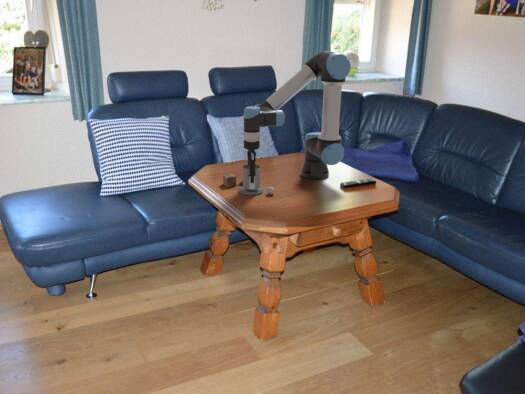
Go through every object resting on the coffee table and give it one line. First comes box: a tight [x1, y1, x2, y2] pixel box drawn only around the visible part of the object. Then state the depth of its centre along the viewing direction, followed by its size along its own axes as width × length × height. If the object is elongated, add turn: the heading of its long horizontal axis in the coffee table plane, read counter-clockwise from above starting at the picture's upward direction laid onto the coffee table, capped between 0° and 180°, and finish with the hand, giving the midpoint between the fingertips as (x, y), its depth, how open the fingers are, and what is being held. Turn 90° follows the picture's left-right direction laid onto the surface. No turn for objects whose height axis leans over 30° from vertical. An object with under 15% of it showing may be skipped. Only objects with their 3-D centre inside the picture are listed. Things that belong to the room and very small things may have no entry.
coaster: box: [238, 186, 264, 196], centre depth 249 cm, size 12×12×1 cm
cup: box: [242, 163, 261, 189], centre depth 247 cm, size 8×8×10 cm
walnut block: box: [222, 173, 237, 188], centre depth 257 cm, size 5×5×5 cm
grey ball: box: [266, 186, 275, 196], centre depth 245 cm, size 4×4×4 cm
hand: (251, 185), depth 248 cm, fingers closed on cup, 8 cm apart
